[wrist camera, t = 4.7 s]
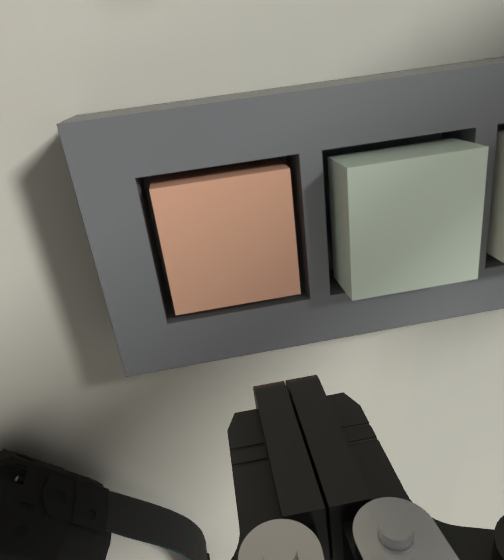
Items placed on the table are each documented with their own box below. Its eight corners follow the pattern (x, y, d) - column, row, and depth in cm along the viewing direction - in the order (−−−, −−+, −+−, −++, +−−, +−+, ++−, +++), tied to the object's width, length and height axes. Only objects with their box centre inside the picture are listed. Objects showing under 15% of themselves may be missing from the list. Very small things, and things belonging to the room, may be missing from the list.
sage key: (453, 137, 22) (488, 146, 20) (446, 257, 25) (477, 278, 22) (327, 156, 22) (347, 167, 19) (333, 276, 24) (351, 301, 22)
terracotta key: (277, 157, 23) (289, 168, 20) (288, 271, 26) (300, 293, 23) (152, 176, 23) (149, 189, 20) (175, 290, 25) (175, 315, 22)
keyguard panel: (629, 39, 25) (707, 34, 21) (589, 256, 30) (647, 282, 26) (76, 115, 22) (56, 124, 19) (132, 336, 27) (126, 376, 24)
